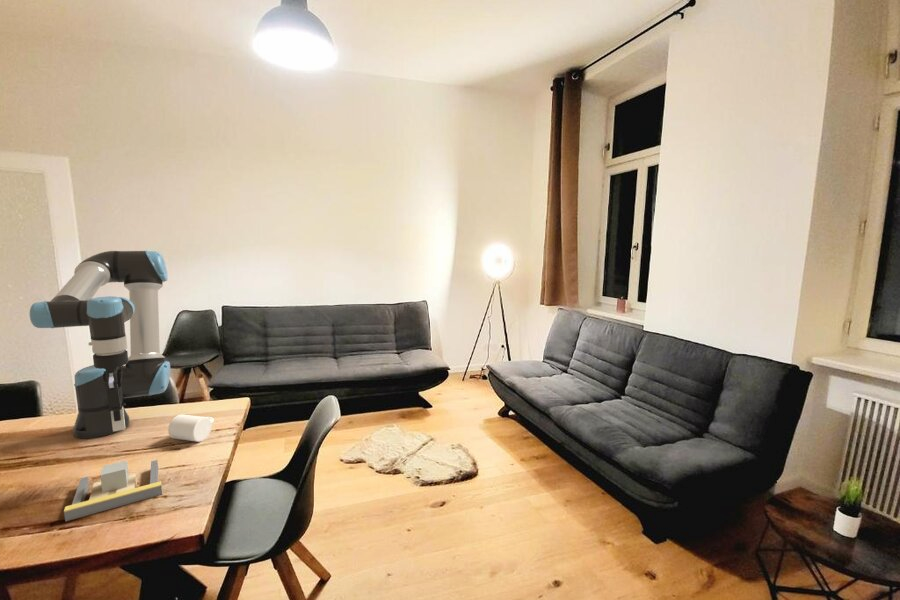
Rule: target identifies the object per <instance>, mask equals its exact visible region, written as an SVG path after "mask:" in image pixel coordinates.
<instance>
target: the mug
mask: <svg viewBox="0 0 900 600" xmlns="http://www.w3.org/2000/svg"><path fill="white" fill-rule="evenodd" d="M214 422H215V419H214V418H213V417H211V416H198V415H192V414H191V415H188V414H178V415H176V416H175V417H174V418H173V419H171V421H170V423H169V425H168V429H167V430H168V431H167V432H168V436H170V438H172V439H175V440H182V441H188V442H189V441H190V442H198V443H199V442H203V441H205V440H206V439H207V438H208V437H209V435H210V434H211V431H212V427H213V425H212V424H213V423H214Z"/></svg>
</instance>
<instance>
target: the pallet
mask: <svg viewBox="0 0 900 600" xmlns="http://www.w3.org/2000/svg"><path fill="white" fill-rule="evenodd" d="M128 474H129V479H128V484H127V487H124V488H120V489H116V490H112V491H108V492H104V493H102V485H101V480H100V481H95V482H93V485H92V488H91V491H90V495H89V499H88V500H92V499H96V498H99V497H103V496H107V495H111V494H114V493H118V492H122V491H126V490H130V489H133V488H137V485H138V476H137V472H132V473H131V472H130V473H128Z"/></svg>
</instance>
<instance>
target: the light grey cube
mask: <svg viewBox="0 0 900 600" xmlns="http://www.w3.org/2000/svg"><path fill="white" fill-rule="evenodd" d="M129 474H130V473H129V466H128V460H124V461H119V462H114V463H111V464H110V463H109V464H105V465H102V469H101V473H100V481H101V485H102V493H104V492H108V491H112V490H116V489H120V488H124V487H127V484H128V479H129Z"/></svg>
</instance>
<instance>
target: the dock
mask: <svg viewBox="0 0 900 600" xmlns="http://www.w3.org/2000/svg"><path fill="white" fill-rule="evenodd" d="M158 464H159V462H158V459H156V460H152V461H151V462H150V474H149V475H150V478H149V484H144V485H142V486H138V487H137V486H136V488H133V489H130V490H126V491H122V492H118V493H114V494H111V495H107V496H103V497H99V498H96V499H92V500H89V499H88V500H86V498H87V497H86V496H87V493H88V491H89V487H90V480H89V476H85V477H81V478H80V480H79V483H78V486H77V487H76V492H75V495H74V497H73V500H72V503H71V504H70V505H67V506H64V510H63V514H64V520H65V522H70V521H72V520H75V519H80V518H83V517H86V516H89V515H90V516H91V515H93V514H98V513H100V512H105V511H108V510H111V509H115V508H118V507H119V508H120V507H123V506H126V505H129V504H132V503H136V502H140V501H144V500H146V499H147V500H148V499H151V498H154V497H157V496H158V497H159V496H162V495H163V488H162V486H163V485H162V480H160V481H159V465H158Z"/></svg>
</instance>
